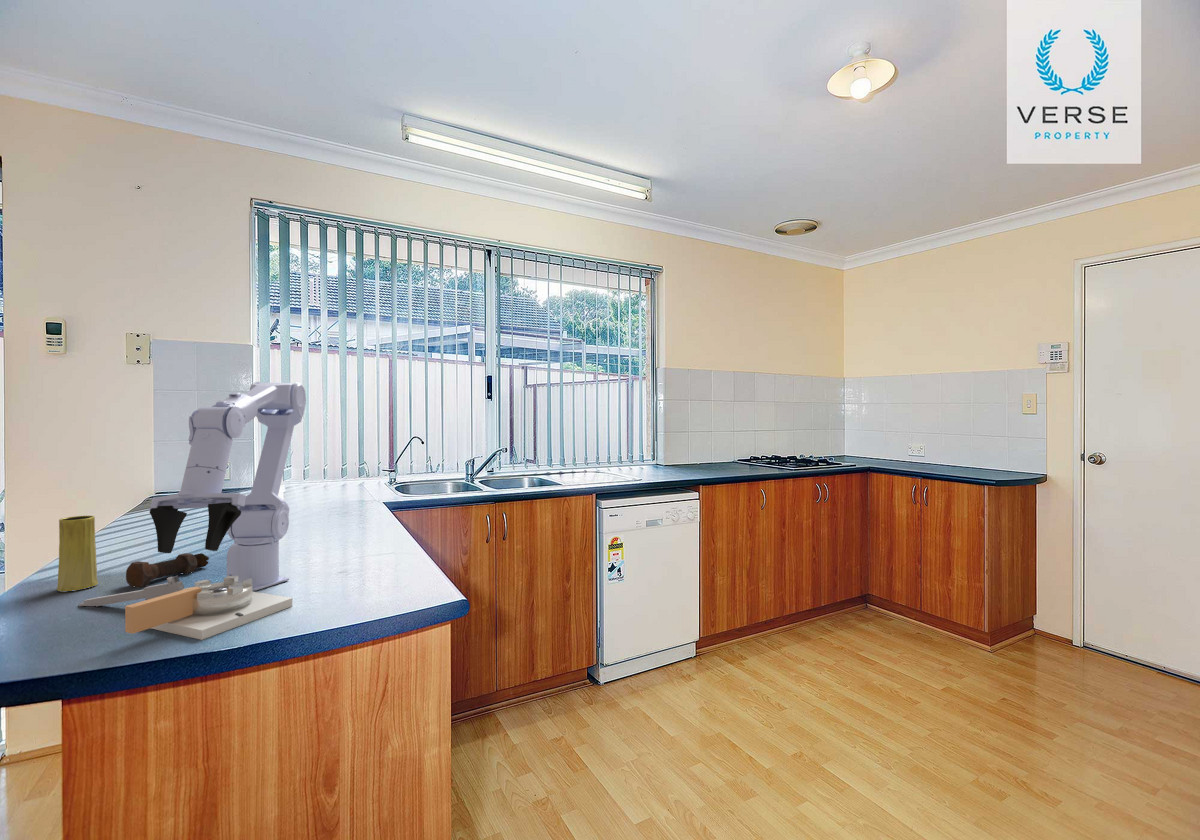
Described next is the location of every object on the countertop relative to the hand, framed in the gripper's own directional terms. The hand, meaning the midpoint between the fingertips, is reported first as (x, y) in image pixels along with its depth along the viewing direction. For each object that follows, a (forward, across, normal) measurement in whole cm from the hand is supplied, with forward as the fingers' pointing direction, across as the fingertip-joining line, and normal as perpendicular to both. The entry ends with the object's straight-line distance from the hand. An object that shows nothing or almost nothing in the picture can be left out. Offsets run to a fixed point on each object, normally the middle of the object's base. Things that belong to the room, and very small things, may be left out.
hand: (187, 551), depth 89 cm
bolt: (0, -26, +32) cm, 41 cm away
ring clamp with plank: (+9, -1, +6) cm, 11 cm away
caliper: (+8, -19, +14) cm, 25 cm away
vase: (+2, -39, +24) cm, 46 cm away
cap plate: (+10, 0, +11) cm, 14 cm away
